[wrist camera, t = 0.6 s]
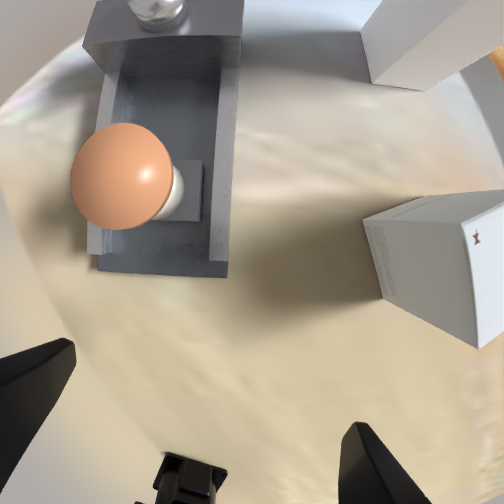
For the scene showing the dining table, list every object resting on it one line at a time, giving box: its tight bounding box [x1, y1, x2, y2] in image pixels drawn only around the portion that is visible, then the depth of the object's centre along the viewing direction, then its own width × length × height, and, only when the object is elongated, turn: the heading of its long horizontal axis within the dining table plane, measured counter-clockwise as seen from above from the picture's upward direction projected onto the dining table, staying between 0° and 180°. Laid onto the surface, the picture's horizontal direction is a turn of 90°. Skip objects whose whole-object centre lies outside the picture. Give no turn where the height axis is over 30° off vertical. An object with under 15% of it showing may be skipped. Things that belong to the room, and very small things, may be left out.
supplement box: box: [362, 190, 504, 349], centre depth 19 cm, size 7×7×13 cm
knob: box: [70, 123, 204, 230], centre depth 17 cm, size 5×6×9 cm
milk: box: [360, 0, 504, 91], centre depth 13 cm, size 6×6×22 cm
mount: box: [82, 0, 244, 278], centre depth 19 cm, size 20×10×8 cm, turn 177°
